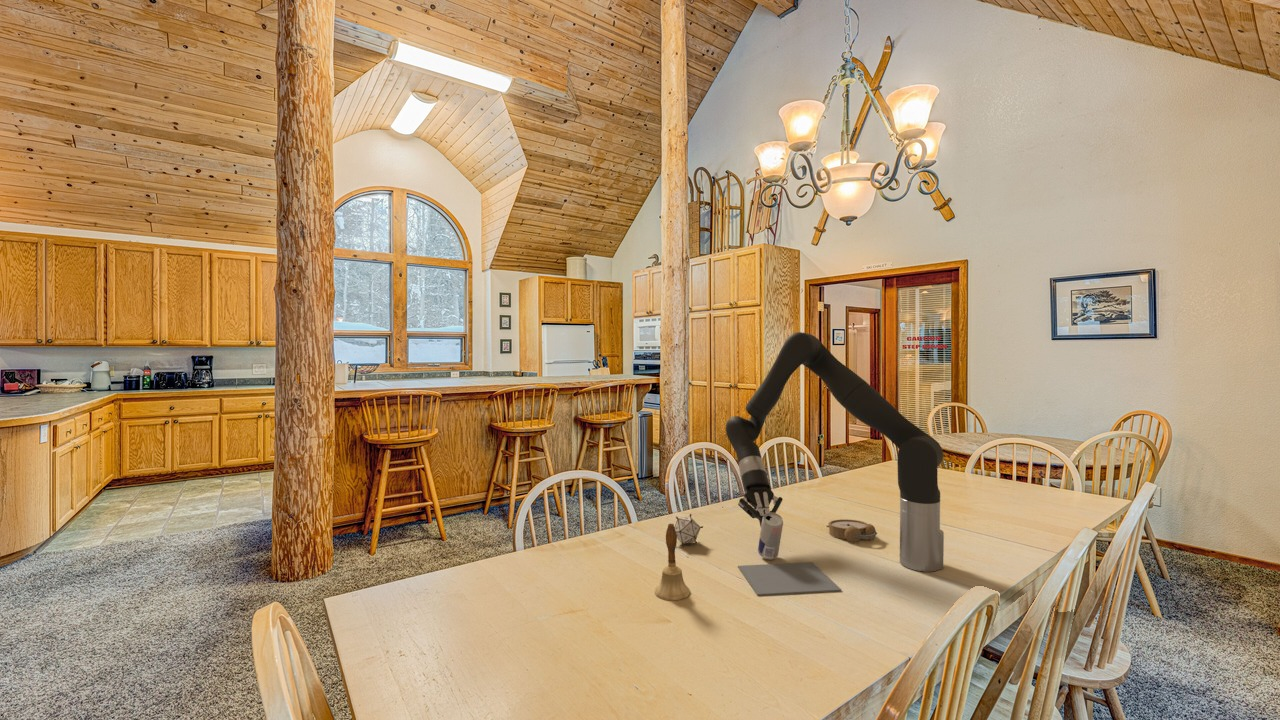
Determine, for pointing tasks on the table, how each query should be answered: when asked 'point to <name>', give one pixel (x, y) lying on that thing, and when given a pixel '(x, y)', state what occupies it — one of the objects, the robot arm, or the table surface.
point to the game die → (687, 530)
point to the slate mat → (787, 578)
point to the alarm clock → (851, 530)
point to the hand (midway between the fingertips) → (767, 530)
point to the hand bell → (672, 573)
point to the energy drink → (770, 536)
